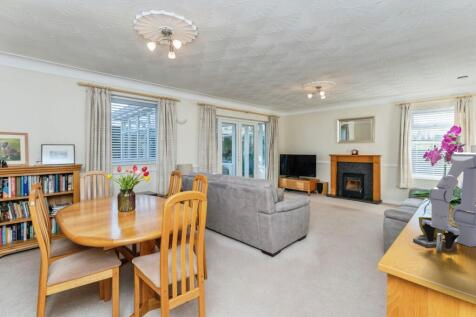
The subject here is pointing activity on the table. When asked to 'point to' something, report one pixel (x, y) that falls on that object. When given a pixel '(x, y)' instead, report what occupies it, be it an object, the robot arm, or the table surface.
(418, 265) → the table surface
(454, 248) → the walnut block
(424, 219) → the flower pot
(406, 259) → the table surface
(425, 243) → the tray
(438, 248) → the cylinder
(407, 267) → the table surface
